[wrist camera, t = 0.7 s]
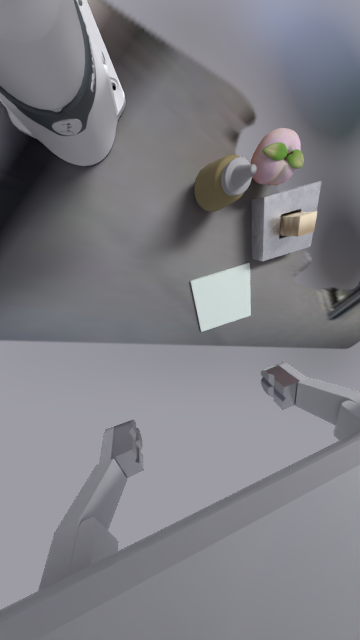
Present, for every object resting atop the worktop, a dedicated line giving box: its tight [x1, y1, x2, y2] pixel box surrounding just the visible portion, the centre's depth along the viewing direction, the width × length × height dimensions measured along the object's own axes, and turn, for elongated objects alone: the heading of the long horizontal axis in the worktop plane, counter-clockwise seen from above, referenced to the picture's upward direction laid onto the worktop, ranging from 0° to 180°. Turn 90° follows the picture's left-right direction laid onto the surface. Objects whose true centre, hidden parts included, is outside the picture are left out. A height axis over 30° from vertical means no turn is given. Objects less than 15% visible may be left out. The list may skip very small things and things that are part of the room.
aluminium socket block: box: [251, 181, 321, 261], centre depth 43 cm, size 14×14×5 cm
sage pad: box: [190, 263, 251, 332], centre depth 53 cm, size 18×18×1 cm
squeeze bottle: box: [194, 154, 257, 212], centre depth 31 cm, size 8×8×18 cm
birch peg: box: [279, 211, 317, 237], centre depth 41 cm, size 4×4×10 cm
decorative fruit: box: [250, 128, 304, 185], centre depth 34 cm, size 9×8×10 cm
